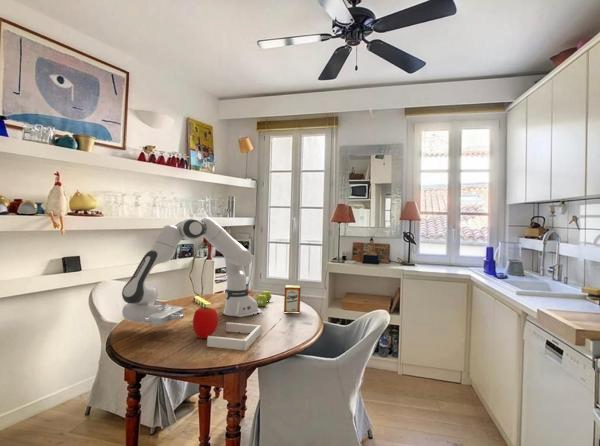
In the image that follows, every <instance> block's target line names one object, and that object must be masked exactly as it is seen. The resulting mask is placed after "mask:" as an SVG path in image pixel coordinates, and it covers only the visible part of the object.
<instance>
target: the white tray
mask: <svg viewBox="0 0 600 446" xmlns="http://www.w3.org/2000/svg"><path fill="white" fill-rule="evenodd" d="M225 332H231V333H238V332H240V334H248V333H250V334H248V335H247V336H246V337H245V338H243V339H242V338H232V337H223V336H213V335H210V336H208V337H207V338H206V345H207V346H206V347H211V348H217V349H219V348H220V349H226V350H227V349H228V350H230V349H231V350H239V351H247V350H248V349H249V348H250V347H251V345H252V344H253V343H254V342H255V341H256V340H257V339H258V338H257V337H258V336H259V337H260V336H261V334H262V325H261V324H260V325H259V324H249V323H239V322H238V323H237V322H226V324H225ZM256 338H257V339H256ZM249 346H250V347H249Z"/></svg>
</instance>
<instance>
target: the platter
mask: <svg viewBox="0 0 600 446" xmlns="http://www.w3.org/2000/svg"><path fill="white" fill-rule="evenodd" d="M193 302H194V303H196V304H198V305H199V306H200V307H201V308H203V307H204V306H205V308H206V307H209V308H212V303H211V302H209V301H207V300H206V299H204V298H203V297H200V296H198V295H197V296H193Z"/></svg>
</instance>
